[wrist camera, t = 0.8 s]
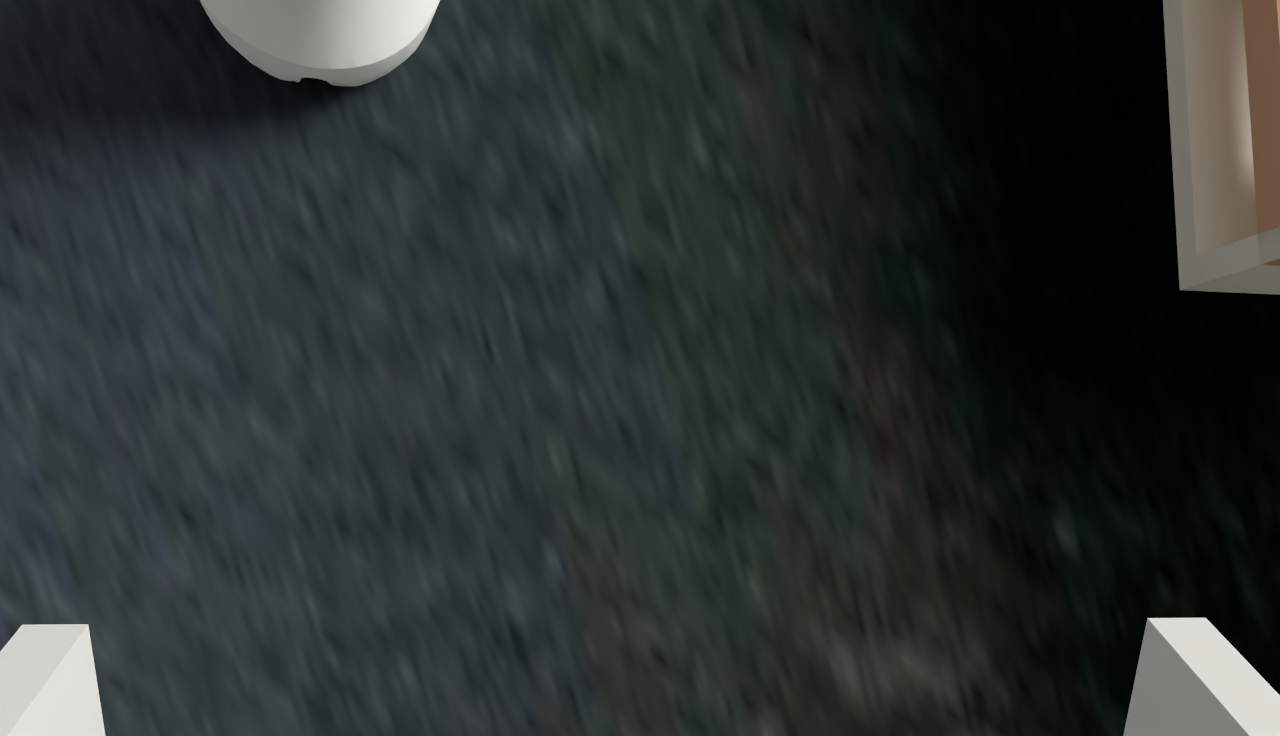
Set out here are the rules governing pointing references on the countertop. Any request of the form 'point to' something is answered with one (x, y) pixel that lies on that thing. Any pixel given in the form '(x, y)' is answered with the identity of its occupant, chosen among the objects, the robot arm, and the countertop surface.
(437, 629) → the countertop surface
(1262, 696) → the robot arm
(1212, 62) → the tissue box
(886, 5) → the countertop surface
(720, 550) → the countertop surface
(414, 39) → the water bottle
